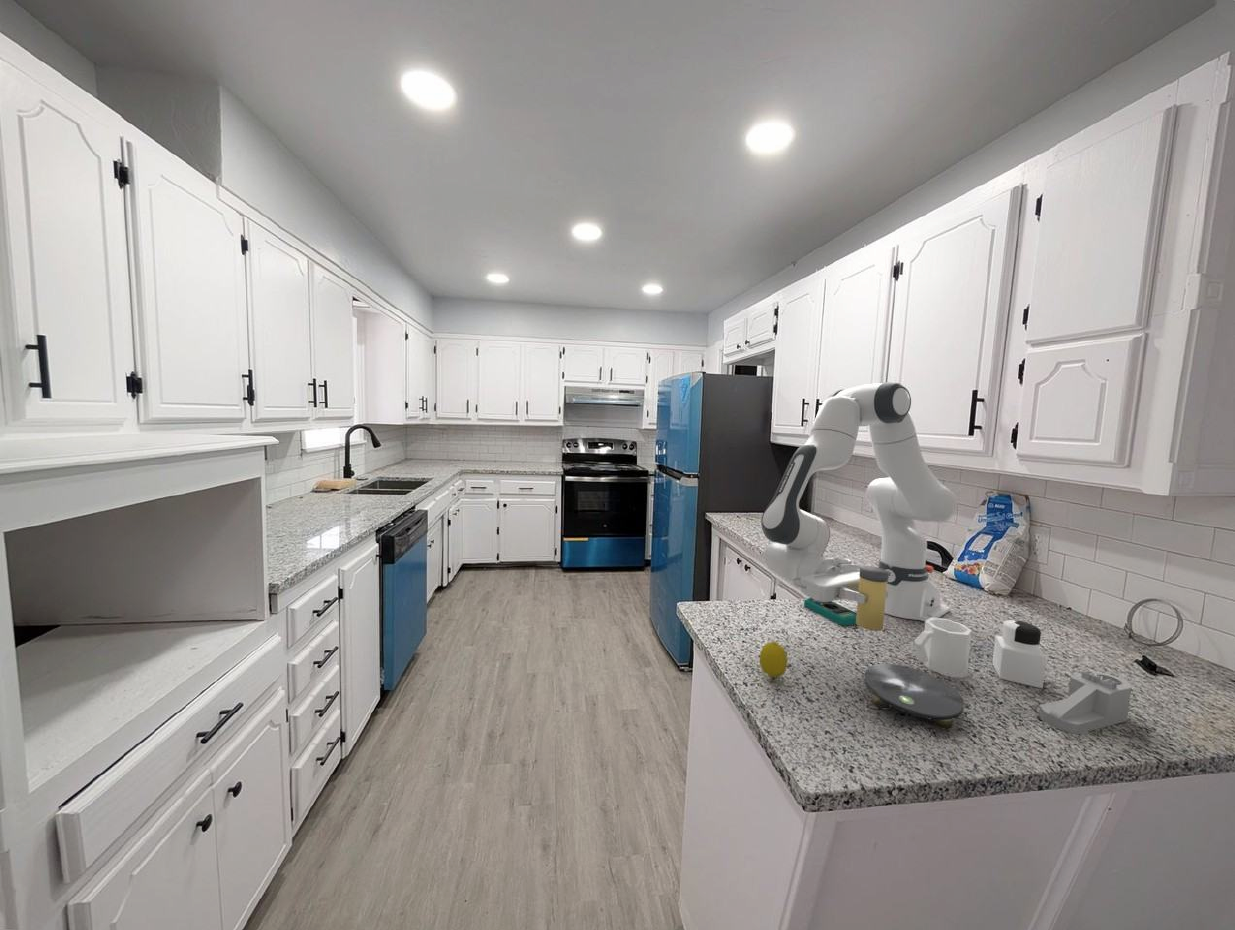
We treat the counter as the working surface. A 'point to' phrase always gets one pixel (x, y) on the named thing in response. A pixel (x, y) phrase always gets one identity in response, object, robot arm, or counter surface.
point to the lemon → (773, 659)
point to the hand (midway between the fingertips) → (876, 597)
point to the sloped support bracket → (1089, 703)
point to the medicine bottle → (1019, 654)
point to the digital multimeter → (832, 611)
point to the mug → (944, 647)
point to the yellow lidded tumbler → (872, 598)
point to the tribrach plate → (914, 693)
